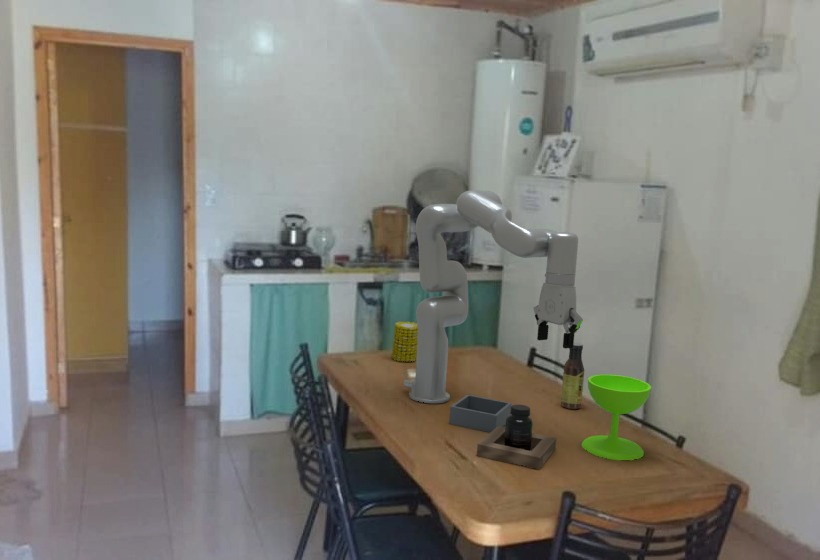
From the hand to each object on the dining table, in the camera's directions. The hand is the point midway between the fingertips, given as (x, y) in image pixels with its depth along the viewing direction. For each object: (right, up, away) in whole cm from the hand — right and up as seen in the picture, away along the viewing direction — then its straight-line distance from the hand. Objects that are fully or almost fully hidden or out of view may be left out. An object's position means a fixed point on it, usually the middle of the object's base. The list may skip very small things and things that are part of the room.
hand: (554, 343), depth 198 cm
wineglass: (+15, -28, 0) cm, 32 cm away
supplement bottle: (-11, -27, -7) cm, 30 cm away
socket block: (-11, -27, -7) cm, 30 cm away
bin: (-18, -23, +15) cm, 33 cm away
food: (-40, -13, +79) cm, 89 cm away
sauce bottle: (+11, -23, +35) cm, 43 cm away
